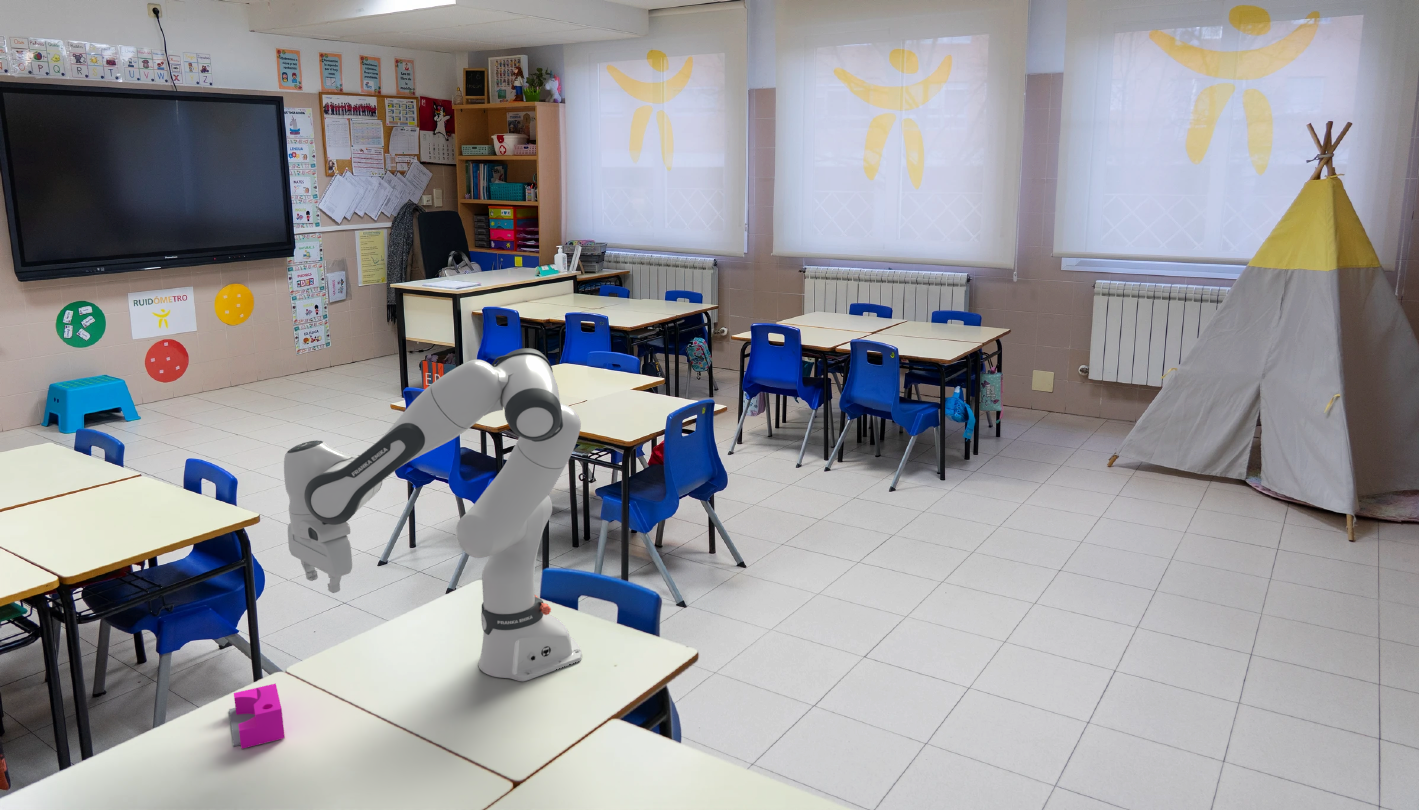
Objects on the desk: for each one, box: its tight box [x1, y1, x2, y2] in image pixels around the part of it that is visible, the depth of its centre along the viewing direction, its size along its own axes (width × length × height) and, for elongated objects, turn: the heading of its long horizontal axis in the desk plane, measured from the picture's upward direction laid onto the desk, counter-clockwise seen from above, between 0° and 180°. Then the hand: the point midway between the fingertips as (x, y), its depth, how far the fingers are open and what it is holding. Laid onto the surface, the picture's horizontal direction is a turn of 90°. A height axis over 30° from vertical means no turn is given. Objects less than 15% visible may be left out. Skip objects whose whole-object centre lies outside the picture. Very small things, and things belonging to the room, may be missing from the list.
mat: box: [228, 707, 255, 748], centre depth 191 cm, size 8×14×1 cm, turn 28°
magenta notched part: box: [233, 683, 286, 750], centre depth 189 cm, size 15×6×8 cm
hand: (323, 585), depth 197 cm, fingers open, 8 cm apart
